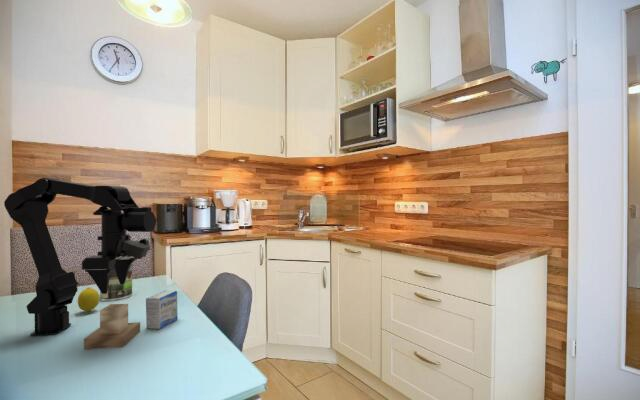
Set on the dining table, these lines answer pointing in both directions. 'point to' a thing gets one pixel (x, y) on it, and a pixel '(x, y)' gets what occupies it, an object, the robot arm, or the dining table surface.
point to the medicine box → (161, 309)
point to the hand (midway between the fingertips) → (113, 288)
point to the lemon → (88, 299)
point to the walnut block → (111, 337)
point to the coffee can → (118, 287)
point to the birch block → (113, 318)
